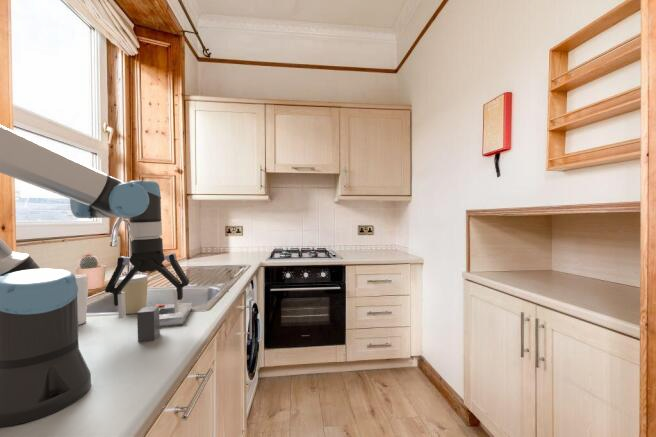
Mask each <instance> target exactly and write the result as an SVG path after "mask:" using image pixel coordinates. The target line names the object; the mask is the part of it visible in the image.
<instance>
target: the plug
mask: <svg viewBox="0 0 656 437" xmlns="http://www.w3.org/2000/svg"><path fill="white" fill-rule="evenodd" d="M136 316H137V317H136V320H137V322H136V323H137V324H136V325H137V342H138V343H146V342H154V341H156V340H157V338H158V337H159V335H160V333H161V332H160V331H161V330H160V328H161V327H160V325H159V306H154V305H153V306H146V307H143V308H142V309H141V310H139V311H138V312H137V313H136Z"/></svg>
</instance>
